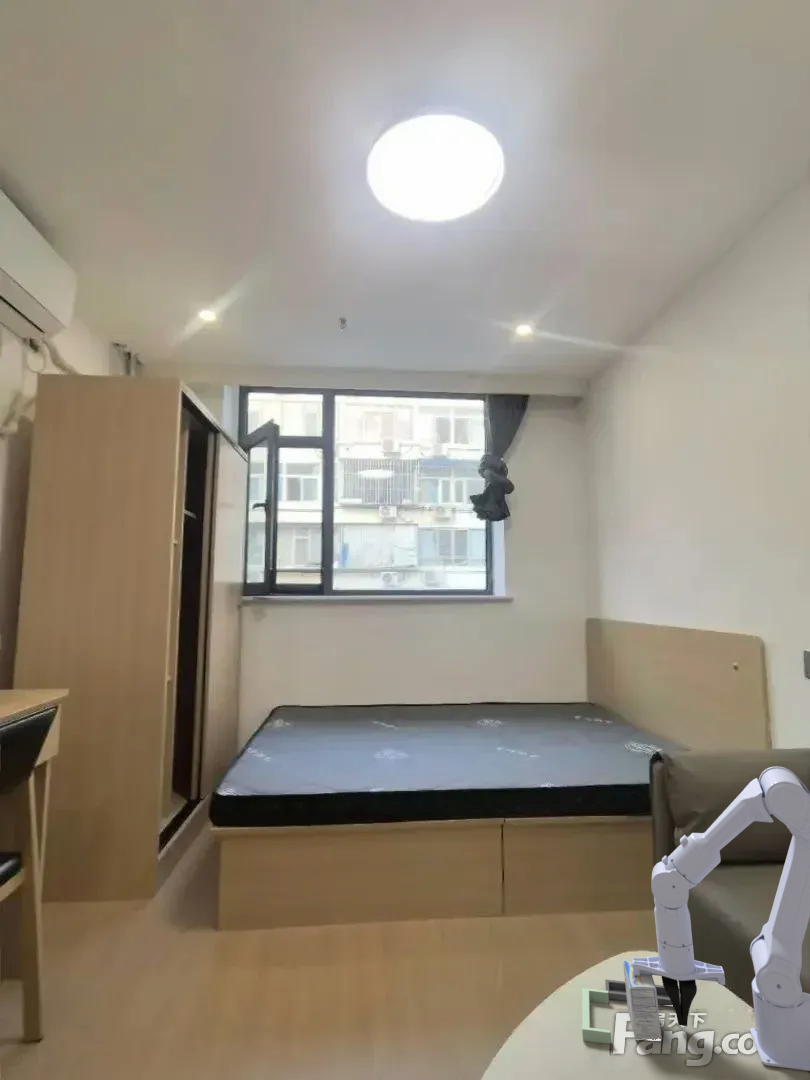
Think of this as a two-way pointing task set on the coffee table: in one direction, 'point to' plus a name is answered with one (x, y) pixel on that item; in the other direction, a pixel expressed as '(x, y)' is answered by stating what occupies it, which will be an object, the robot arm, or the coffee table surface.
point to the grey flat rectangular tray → (662, 996)
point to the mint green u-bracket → (588, 1032)
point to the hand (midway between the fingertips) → (682, 1021)
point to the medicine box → (642, 1004)
